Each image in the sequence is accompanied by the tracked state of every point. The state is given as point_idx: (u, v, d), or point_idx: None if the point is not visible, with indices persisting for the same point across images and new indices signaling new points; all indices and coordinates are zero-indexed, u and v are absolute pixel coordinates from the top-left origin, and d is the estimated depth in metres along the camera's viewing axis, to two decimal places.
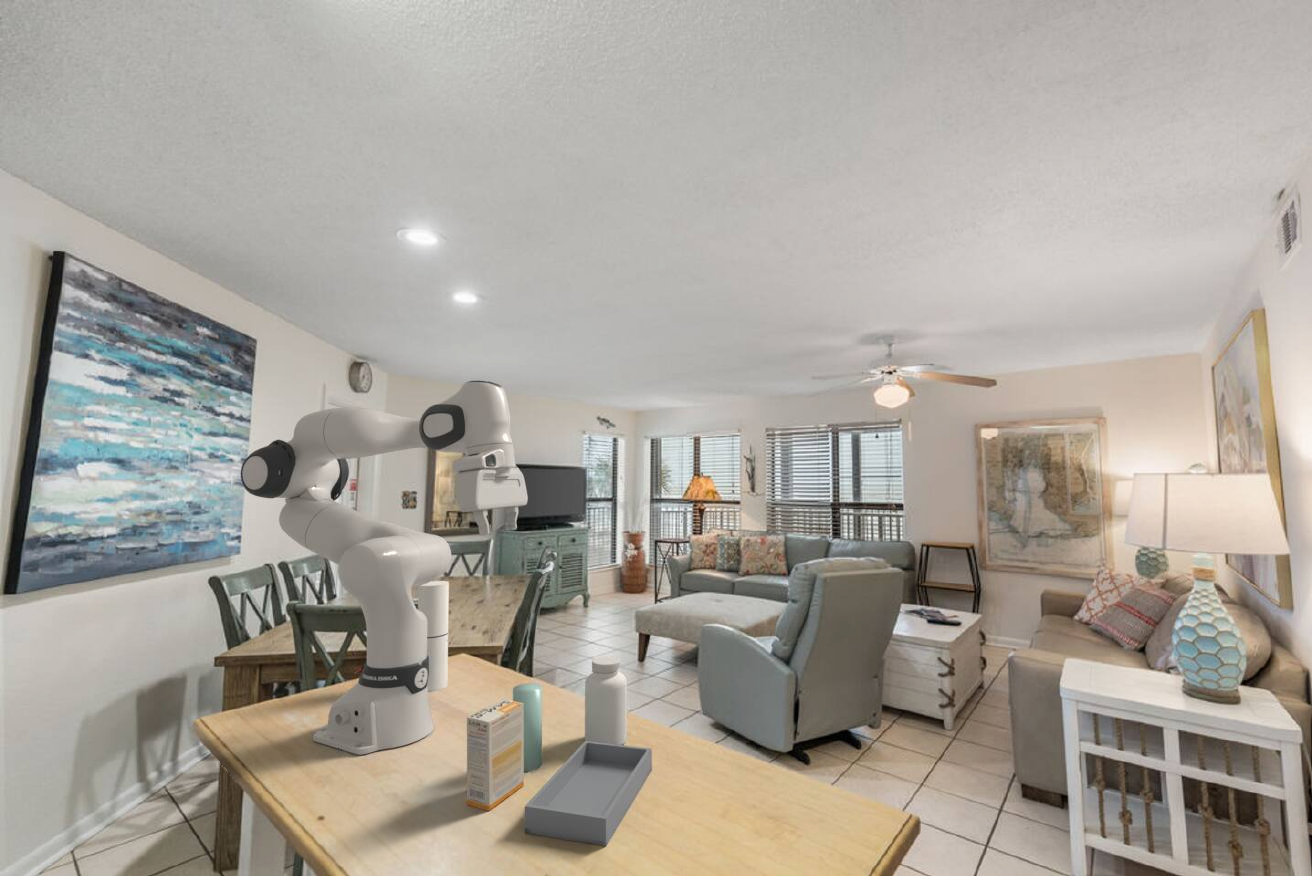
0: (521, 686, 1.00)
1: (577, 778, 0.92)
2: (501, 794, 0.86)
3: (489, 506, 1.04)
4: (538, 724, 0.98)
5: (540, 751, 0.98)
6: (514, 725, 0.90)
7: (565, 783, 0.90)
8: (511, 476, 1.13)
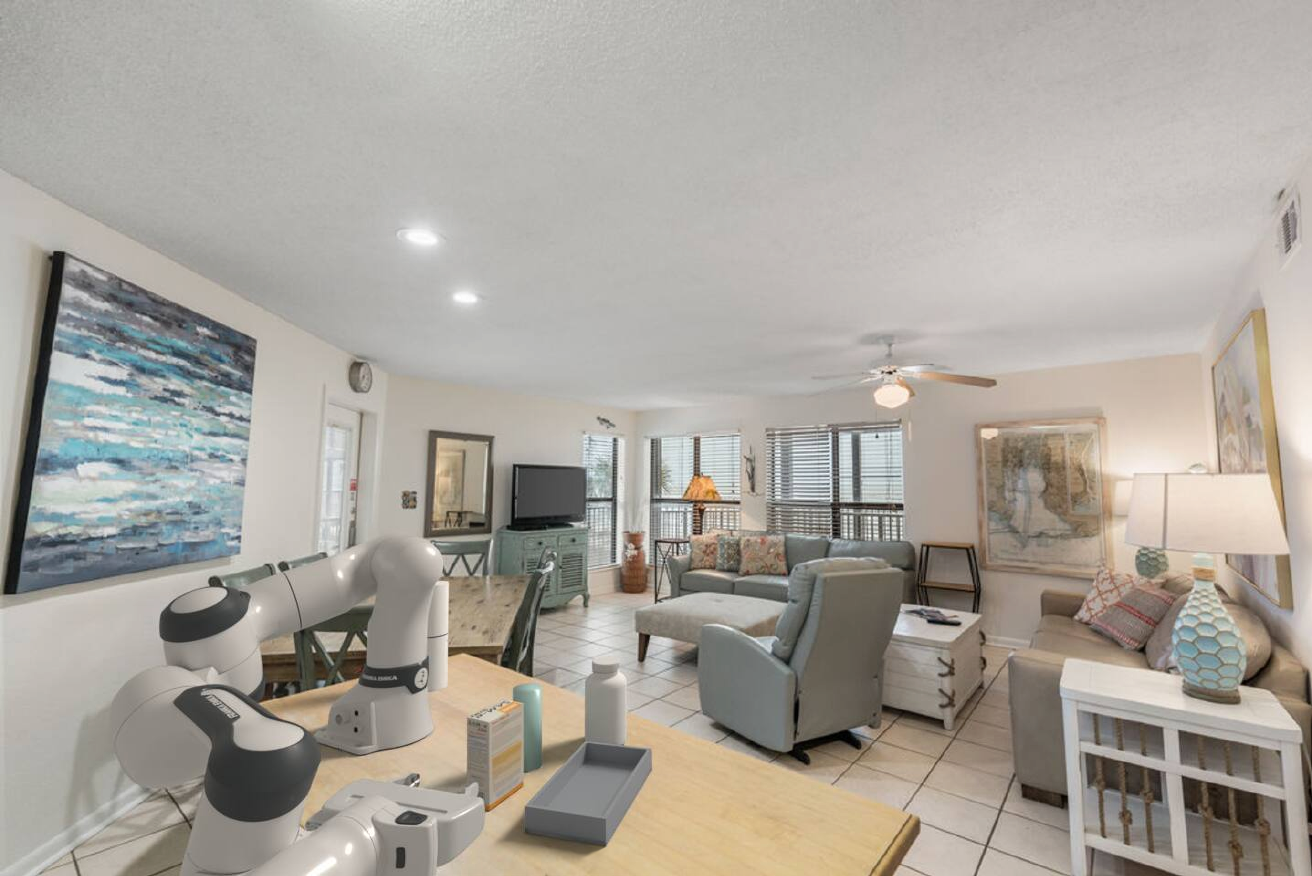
0: (521, 686, 1.00)
1: (577, 778, 0.92)
2: (501, 794, 0.86)
3: (454, 793, 0.71)
4: (538, 724, 0.98)
5: (540, 751, 0.98)
6: (514, 725, 0.90)
7: (565, 783, 0.90)
8: None
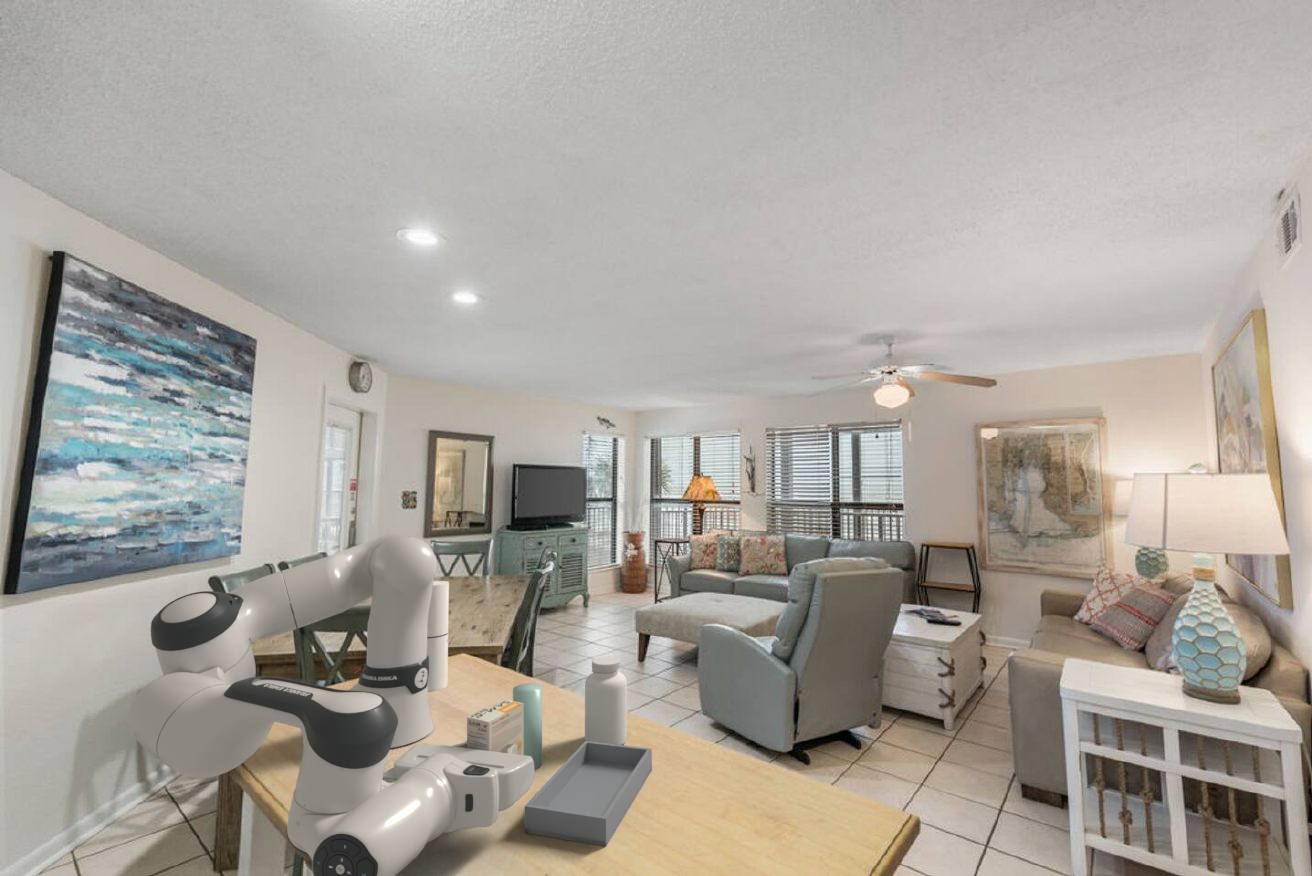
0: (521, 686, 1.00)
1: (577, 778, 0.92)
2: None
3: (507, 753, 0.83)
4: (538, 724, 0.98)
5: (540, 751, 0.98)
6: (514, 725, 0.90)
7: (565, 783, 0.90)
8: None
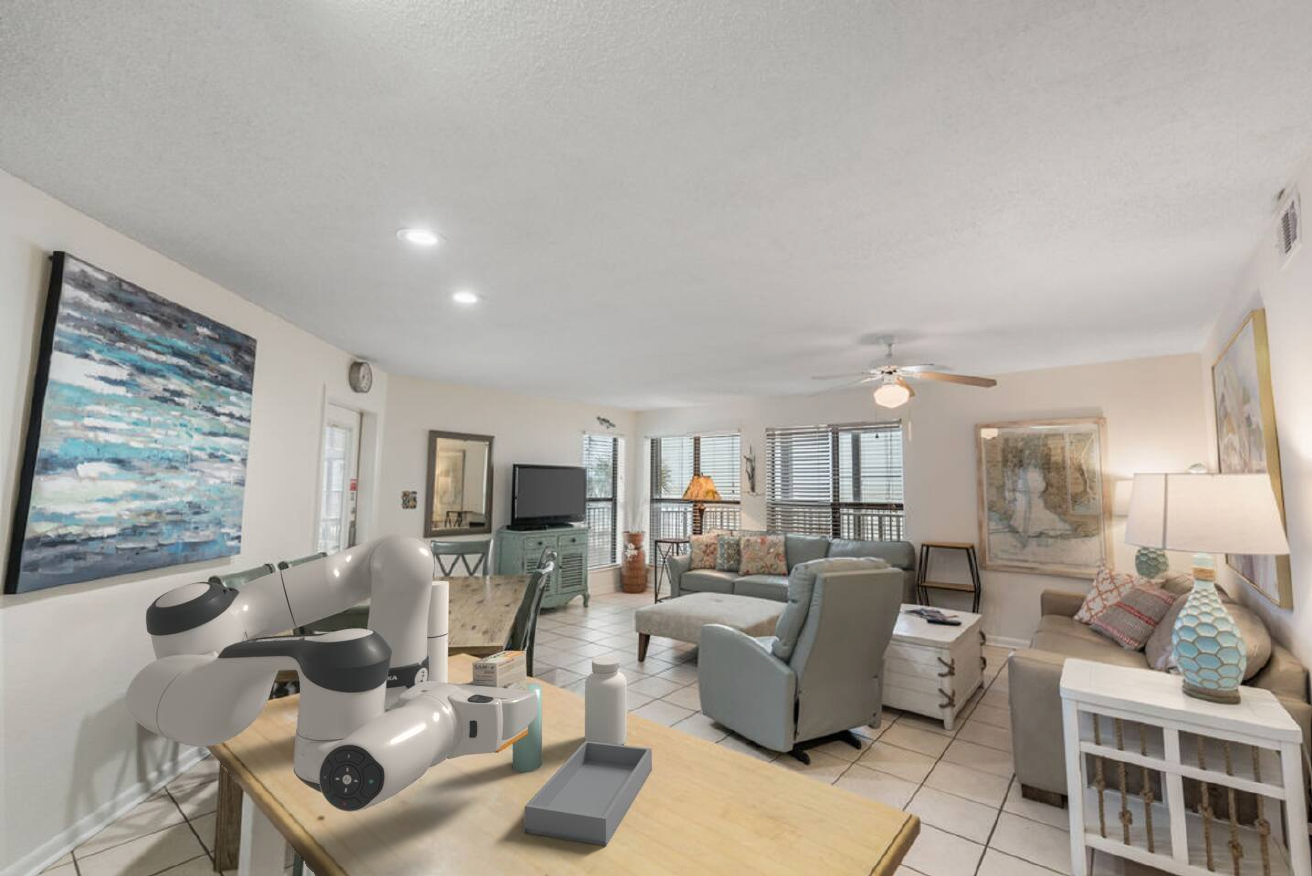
0: None
1: (577, 778, 0.92)
2: None
3: (510, 688, 0.83)
4: (538, 724, 0.98)
5: (540, 751, 0.98)
6: (518, 671, 0.91)
7: (565, 783, 0.90)
8: None
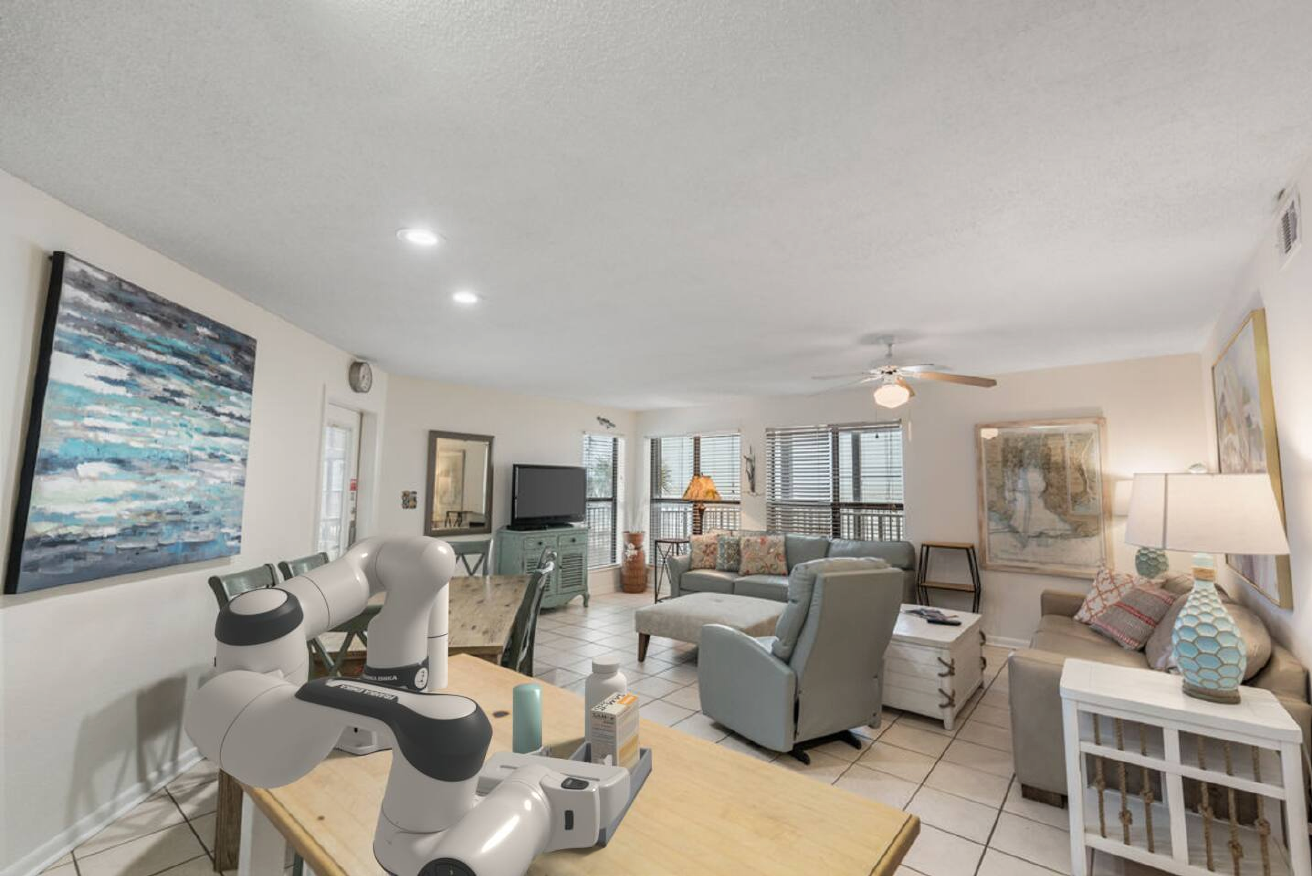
0: (521, 686, 1.00)
1: None
2: None
3: (598, 764, 0.75)
4: (538, 724, 0.98)
5: None
6: (633, 718, 0.90)
7: None
8: None
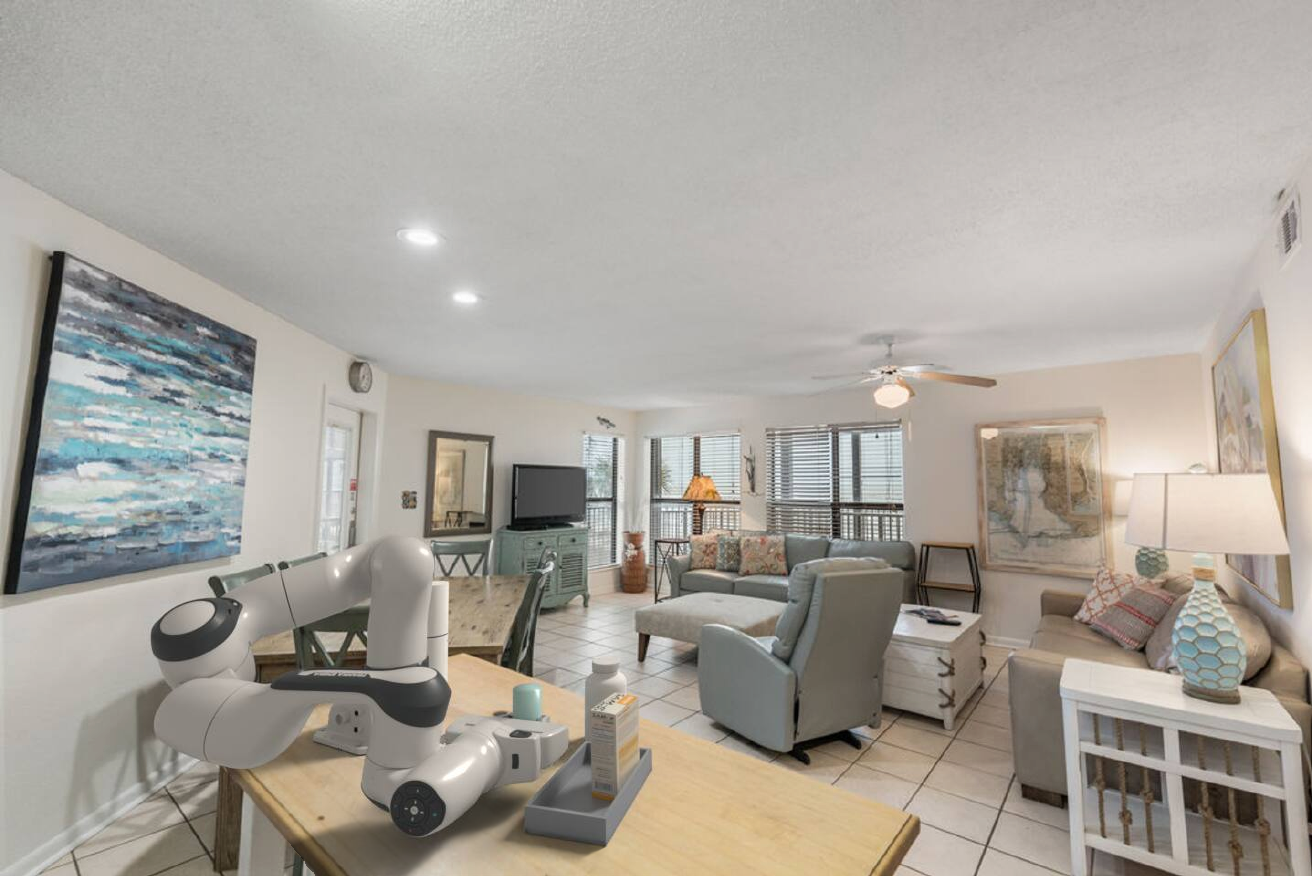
0: (521, 686, 1.00)
1: (577, 778, 0.92)
2: None
3: (544, 722, 0.94)
4: None
5: None
6: (632, 717, 0.90)
7: (565, 783, 0.90)
8: None
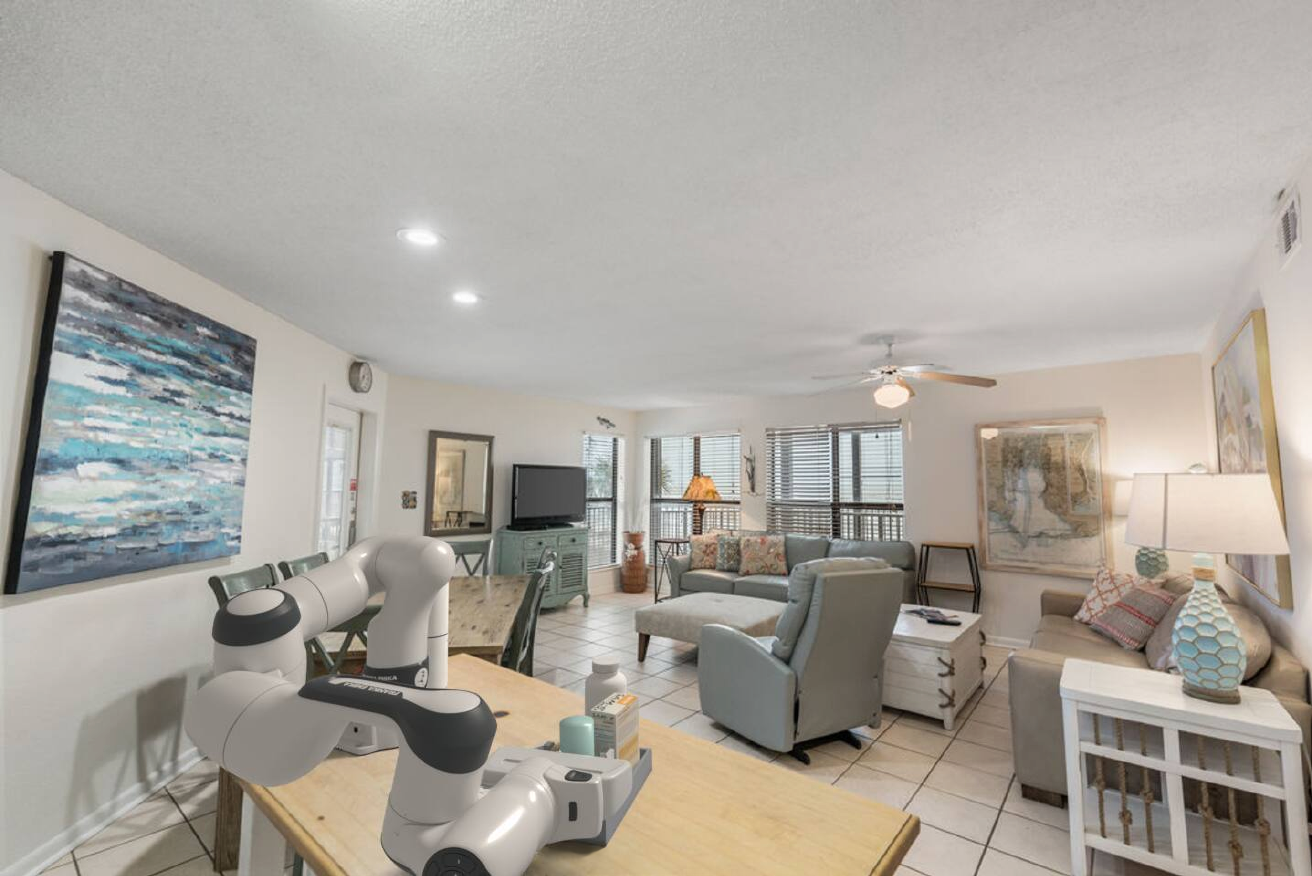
0: (569, 720, 0.83)
1: None
2: None
3: (600, 757, 0.76)
4: None
5: None
6: (632, 717, 0.90)
7: None
8: None
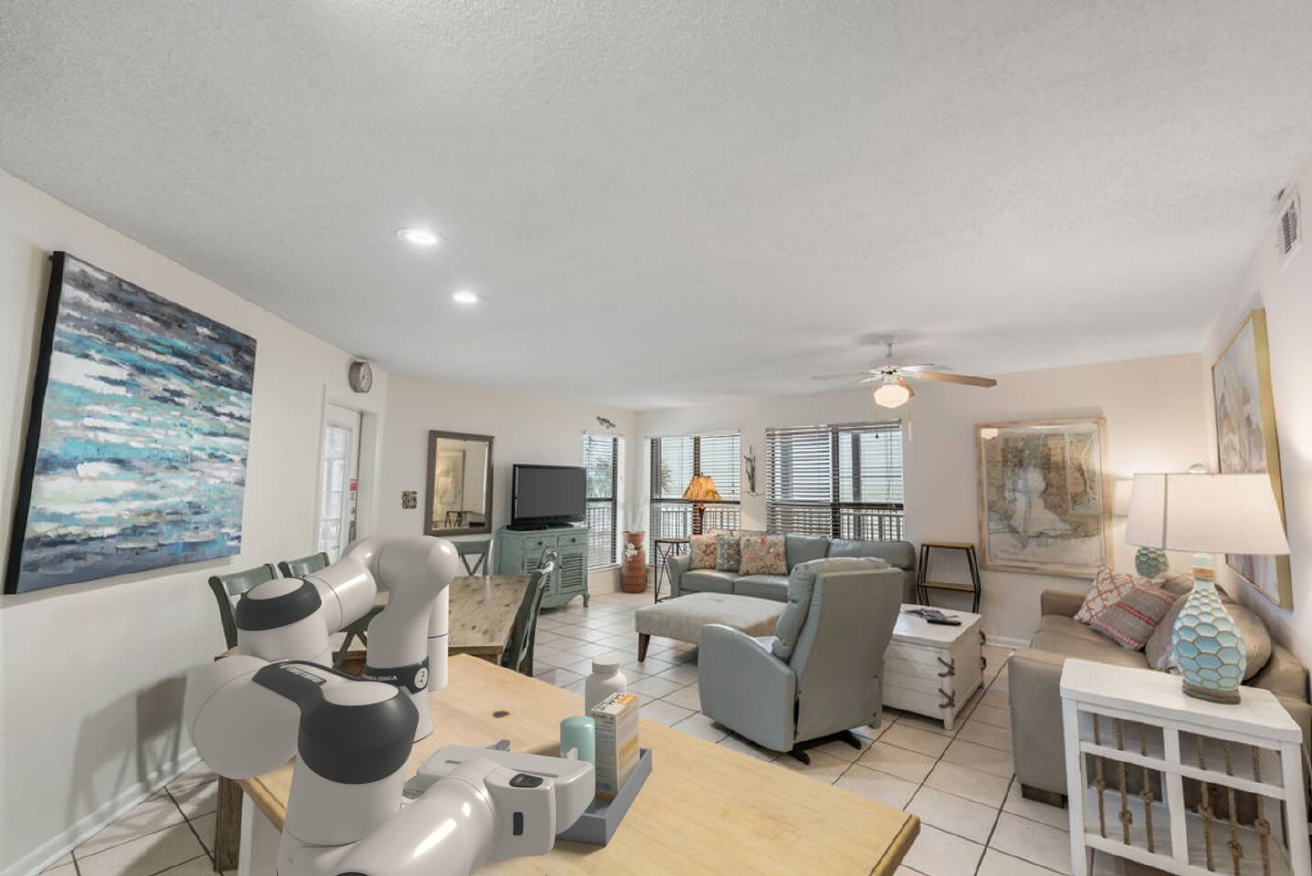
0: (570, 721, 0.83)
1: None
2: None
3: (559, 758, 0.65)
4: None
5: (594, 800, 0.81)
6: (632, 717, 0.90)
7: None
8: None
